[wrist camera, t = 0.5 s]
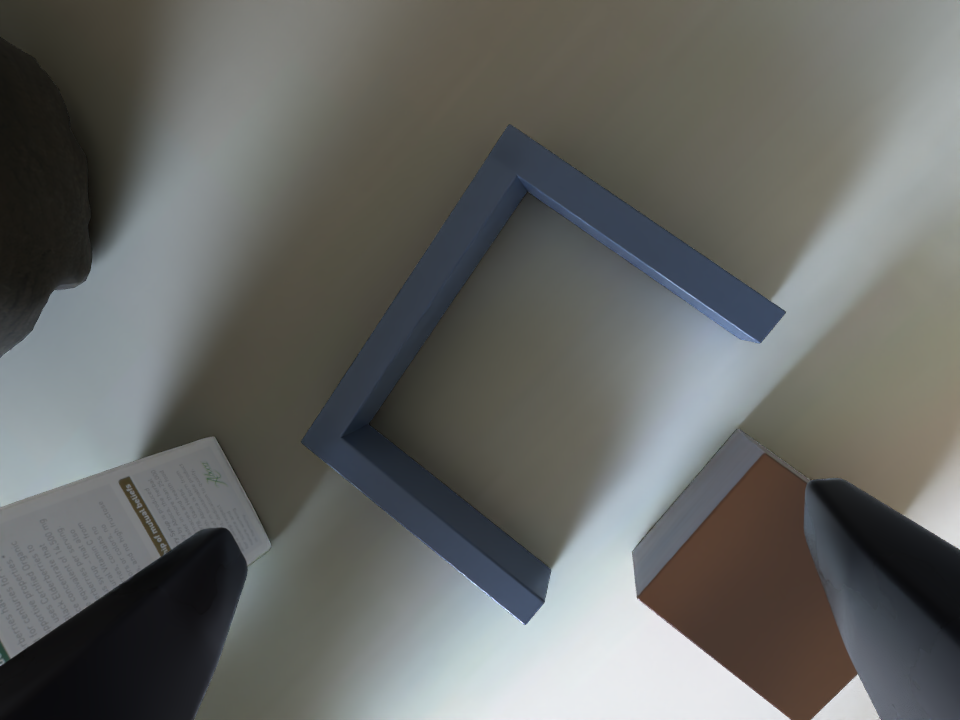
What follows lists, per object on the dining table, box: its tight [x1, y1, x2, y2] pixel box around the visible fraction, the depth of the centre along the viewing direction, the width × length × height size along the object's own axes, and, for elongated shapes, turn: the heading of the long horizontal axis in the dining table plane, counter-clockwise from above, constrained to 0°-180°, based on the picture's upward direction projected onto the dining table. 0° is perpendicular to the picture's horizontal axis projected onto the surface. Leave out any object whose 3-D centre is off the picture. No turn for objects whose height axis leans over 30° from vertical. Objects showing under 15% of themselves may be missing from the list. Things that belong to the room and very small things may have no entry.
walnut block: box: [632, 429, 858, 720], centre depth 18 cm, size 6×6×4 cm
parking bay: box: [301, 124, 786, 625], centre depth 20 cm, size 10×13×2 cm
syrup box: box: [0, 437, 271, 666], centre depth 18 cm, size 6×6×14 cm
